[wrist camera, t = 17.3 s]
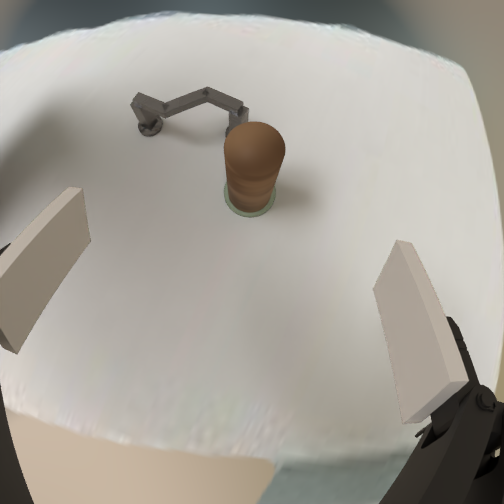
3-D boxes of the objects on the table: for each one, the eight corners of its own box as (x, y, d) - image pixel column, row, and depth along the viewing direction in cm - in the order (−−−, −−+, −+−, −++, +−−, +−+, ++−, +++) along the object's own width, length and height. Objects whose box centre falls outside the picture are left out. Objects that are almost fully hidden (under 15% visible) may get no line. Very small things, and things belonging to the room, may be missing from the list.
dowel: (220, 184, 37) (213, 137, 25) (257, 165, 37) (264, 113, 25) (241, 220, 36) (243, 186, 24) (278, 199, 37) (297, 158, 25)
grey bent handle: (135, 140, 38) (118, 113, 30) (142, 115, 38) (127, 86, 31) (249, 147, 38) (252, 118, 31) (252, 121, 38) (256, 90, 31)
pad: (214, 201, 37) (214, 200, 36) (240, 161, 38) (240, 159, 37) (259, 226, 37) (259, 225, 36) (283, 184, 38) (284, 183, 37)
